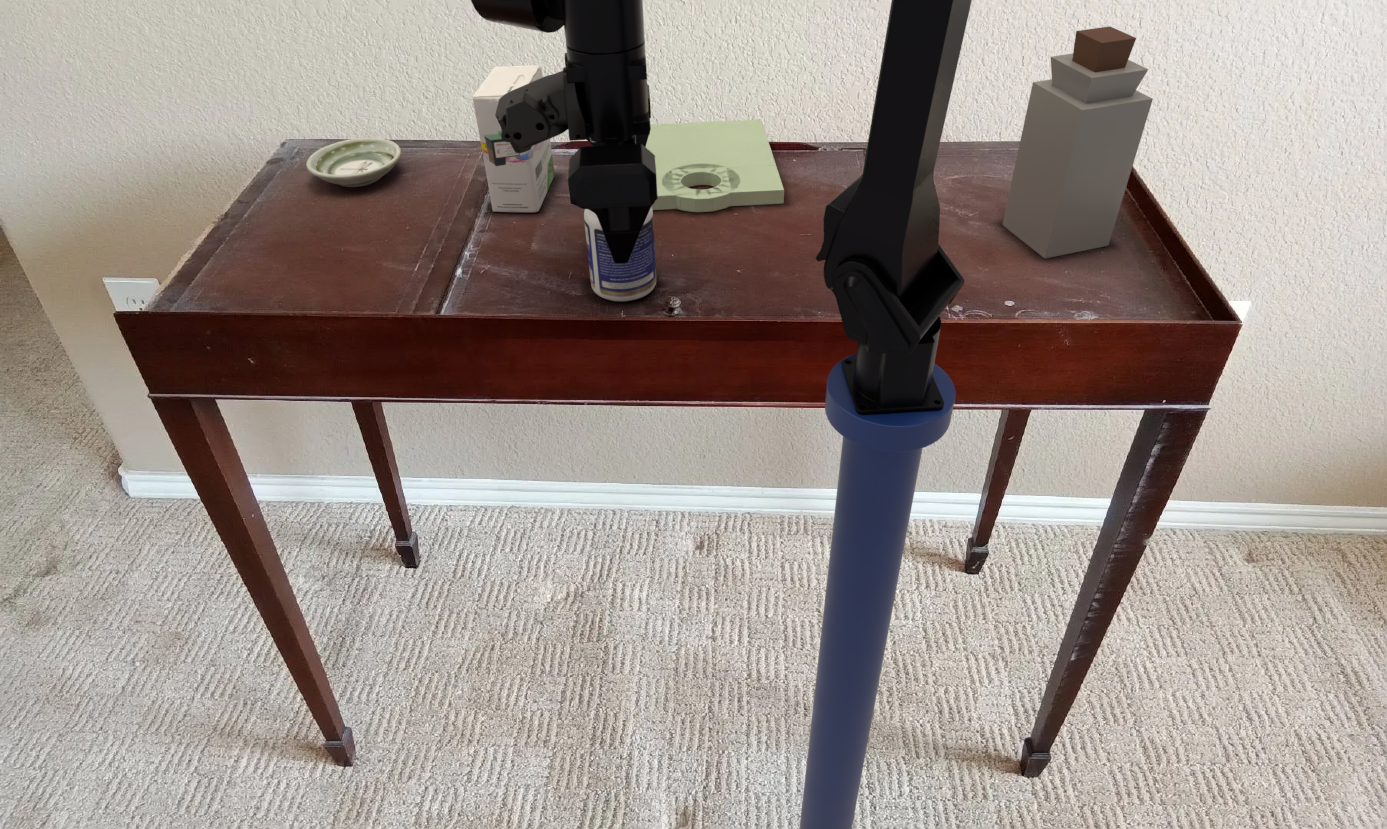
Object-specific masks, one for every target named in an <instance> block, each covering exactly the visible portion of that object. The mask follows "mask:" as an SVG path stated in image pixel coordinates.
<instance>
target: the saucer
mask: <svg viewBox="0 0 1387 829" xmlns="http://www.w3.org/2000/svg"><path fill="white" fill-rule="evenodd" d="M401 157H402V149H401V147H400V145H398V143H396V142H394V141H392V140H389V139H386V138H380V137H379V138H378V137H359V138H351V139H345V140H341V141H340V140H339V141H338V142H334V143H331V144H328V145H325V146H324V147H321V148H319V149H318V150H316V151H314V152H313V153H312V154H310V156H309V157H308V158H307V160H306V162H305V163H306V169H307V171H308V172H309V173H310V174H311V175H313V176H314V177H316V178H318V179H320V180H322V181H324V182H327V183H331V184H333V185H339V186H341V187H347V188H358V187H364V186H365V187H366V186H368V185H371V184H373V183H376V182H377V181H380V180H381V179H382V178H383V176H385V175H387V174H388V173H389V172H390V171H391V170H392V169H393V168H394V167H395V166H396V165H397V163H398V162H399V161H400V160H401Z"/></svg>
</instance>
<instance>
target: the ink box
mask: <svg viewBox="0 0 1387 829" xmlns="http://www.w3.org/2000/svg"><path fill="white" fill-rule="evenodd" d="M543 77H544V75H543V69H542V66H540V65H538V64H527V65H526V64H525V65H505V66H503V65H502V66H493V68H492V69H491V71H490V72H489V74H488V75H487V76H486V78H485V79H484V81H483V82H482V83H481V84H480V86H479V87H478V88H477V89H476V91H475V93H474V94H473V95H472V102H473V108H474V113H475V114H474V115H475V119H476V124H477V130H478V135H479V141H480V147H481V152H482V159H483V163H484V169H485V174H486V175H485V176H486V180H487V186H488V192H489V193H488V194H489V198H490V204H491V209H492V212H494V213H538V212H539V211H540V209H541V207H542V205H543V203H544V201H545V198H546V196H547V195H548V192H549V189H550V187H551V185H552V182H553V181H554V178H555V166H554V159H553V150H552V144H551V138H550V139H548V140H545V141H543V142H541V143H538V144H536V145H533V146H532V147H531V149H530V150H528V151H526V152H523V153H515V151H514V149H513V147H512V146H511V144H510V142H505V141H503V140H502V138H501V132H502V131H501V126H500V124H499V122H498V120H497V118H496V116H495V114H496V110H497V106H498V102H499V99H500V98H501V97H502V96H503V95H505V94H506V93H508V92H510V91H512V90H515V89H517V88H519V87H522V86H524V85H526V84H529V83H531V82H533V81H536V80H538V79H540V78H543Z"/></svg>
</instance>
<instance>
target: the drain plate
mask: <svg viewBox="0 0 1387 829" xmlns="http://www.w3.org/2000/svg"><path fill="white" fill-rule="evenodd" d="M650 126H651V130H650V134H649V137H648V140H647V144H646V148H647V149H648V150H649V151H650V152H651V153H653V154H654V155H655V165H656V178H657V198H658V199H657V200H655V203H654V204H653V205H652V206H651V207H652V210H653V211H660V210H661V211H662V210H663V211H664V210H680V211H682V212H689V213H712V212H717V211H721V210H724V209H728V208H730V207H741V206H742V207H743V206H765V205H782V204H785V203H784V202H785V188H784V185H783V182H782V179H781V176H780V173H779V170H778V167H777V164H776V163H777V162H776V160H775V156H774V155H773V152H772V148H771V145H770V142H769V139H768V136H767V133H766V130H765V127H764V123H763V120H762V119H742V120H741V119H740V120H739V119H737V120H720V121H719V120H718V121H698V122H697V121H695V122H677V123H676V122H675V123H674V122H673V123H653V124H652V123H650ZM695 186H710V187H711V188H706V189H697V188H691V187H695Z"/></svg>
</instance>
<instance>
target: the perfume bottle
mask: <svg viewBox="0 0 1387 829" xmlns="http://www.w3.org/2000/svg"><path fill="white" fill-rule="evenodd" d="M1136 40H1137V37H1135V36H1133V35H1131V34H1128V33H1126V32H1124V31H1121V30H1119V29H1117V28H1114V27H1113V26H1110V25H1109V26H1102V27H1093V28H1087V29H1081V30H1076V31H1075V37H1074V44H1073V51H1072V53H1066V54H1060V55H1052V56H1050V67H1051V68H1050V70H1051V72H1050V73H1051V79H1045V80H1037V81H1033V82H1032V84H1031V89H1030V94H1029V99H1028V104H1027V108H1026V113H1025V118H1024V121H1023V126H1022V130H1021V136H1020V141H1019V146H1018V151H1017V155H1016V159H1015V164H1014V168H1013V173H1012V177H1011V182H1010V187H1009V192H1008V196H1007V201H1006V206H1005V210H1004V215H1003V218H1002V219H1003V220H1002V223H1001V225H1002V226H1003V227H1004V228H1006V230H1008V231H1009V232H1010V233H1012V235H1014V236H1015V237H1017V238H1018V239H1019V240H1020V241H1022V242H1023V243H1024V244H1025V245H1027V246H1028V247H1029V248H1030V249H1032V250H1033V251H1034V252H1036V254H1038V255H1039V256H1041V257H1042V259H1050V258H1055V257H1060V256H1064V255H1065V256H1066V255H1069V254H1074V253H1078V252H1084V251H1090V250H1095V249H1099V248H1103V247H1108V246H1109V245H1110V242H1111V238H1112V236H1113V233H1114V229H1115V225H1116V222H1117V219H1118V216H1119V212H1120V209H1121V206H1122V202H1123V200H1124V196H1125V193H1126V190H1127V186H1128V182H1129V179H1130V175H1131V172H1132V169H1133V167H1134V162H1135V159H1136V156H1137V153H1138V150H1139V146H1140V143H1141V140H1142V136H1143V133H1144V130H1145V126H1146V123H1147V120H1148V117H1149V113H1150V109H1151V106H1152V103H1153V99H1154V98H1152V97H1150V96H1149V95H1146V94H1145V93H1142V92H1141V91H1139V90H1137V89H1138V87H1139V86H1140V84H1141V82H1142V81H1143V79H1144V78H1145V76H1146V75H1147V73H1148V71H1149V68H1147V67H1144V66H1143V65H1141V64H1138V63H1137V62H1135V61H1132V60H1130V59H1129V58H1130V56H1131V53H1132V50H1133V48H1134V46H1135V43H1136Z"/></svg>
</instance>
